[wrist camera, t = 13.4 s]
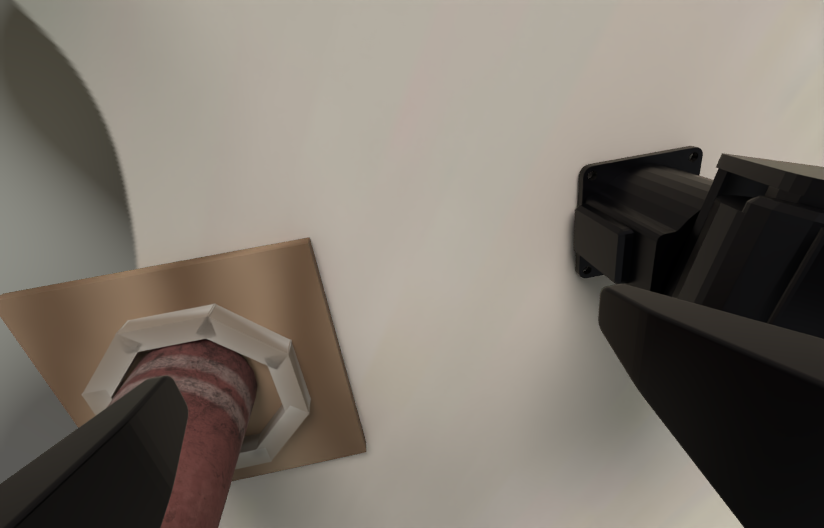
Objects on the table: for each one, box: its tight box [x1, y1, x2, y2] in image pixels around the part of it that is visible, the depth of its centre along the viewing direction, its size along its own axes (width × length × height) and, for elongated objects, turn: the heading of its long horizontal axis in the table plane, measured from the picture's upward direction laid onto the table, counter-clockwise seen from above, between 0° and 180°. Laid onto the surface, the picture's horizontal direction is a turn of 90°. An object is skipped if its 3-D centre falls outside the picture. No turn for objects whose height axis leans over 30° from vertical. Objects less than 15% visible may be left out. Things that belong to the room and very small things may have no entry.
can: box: [106, 339, 257, 528], centre depth 16 cm, size 6×6×14 cm
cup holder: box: [0, 238, 366, 481], centre depth 23 cm, size 15×15×2 cm
